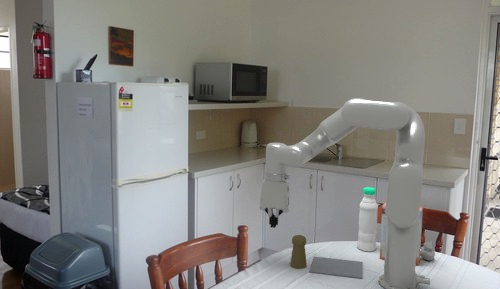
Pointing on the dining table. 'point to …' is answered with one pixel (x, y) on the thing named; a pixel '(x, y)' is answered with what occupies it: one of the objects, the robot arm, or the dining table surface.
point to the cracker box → (383, 233)
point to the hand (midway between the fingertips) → (273, 226)
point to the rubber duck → (427, 251)
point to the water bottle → (367, 221)
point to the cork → (298, 252)
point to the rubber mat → (337, 267)
